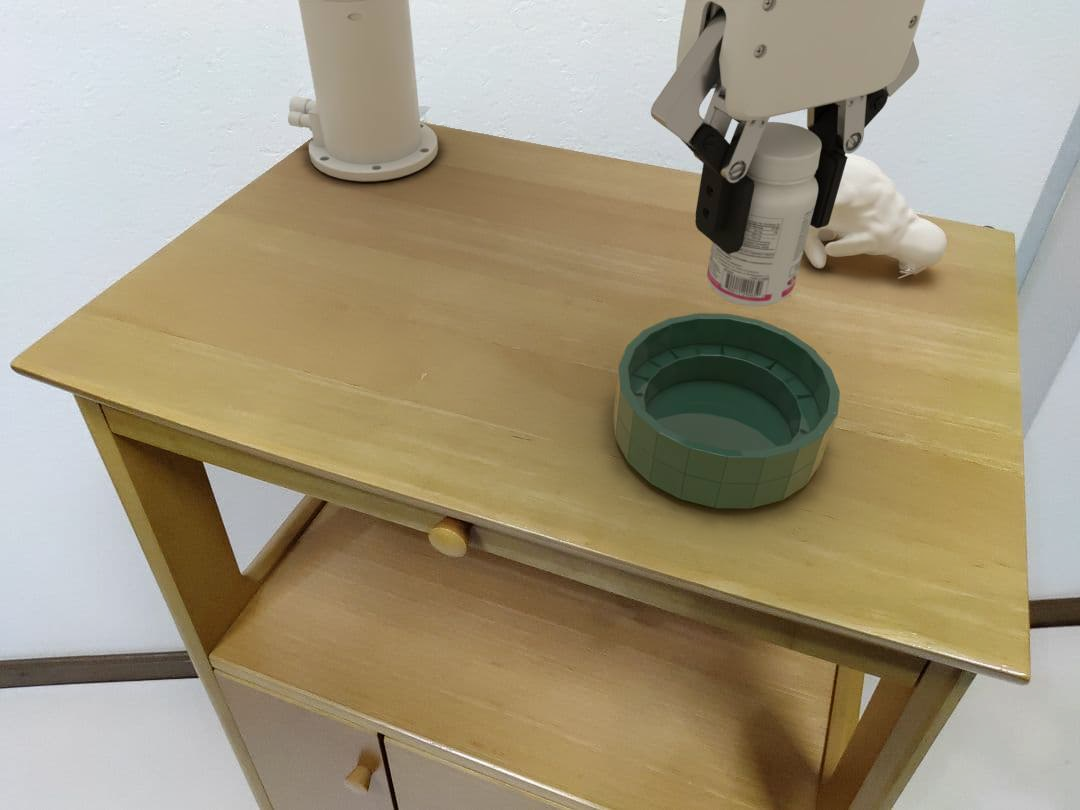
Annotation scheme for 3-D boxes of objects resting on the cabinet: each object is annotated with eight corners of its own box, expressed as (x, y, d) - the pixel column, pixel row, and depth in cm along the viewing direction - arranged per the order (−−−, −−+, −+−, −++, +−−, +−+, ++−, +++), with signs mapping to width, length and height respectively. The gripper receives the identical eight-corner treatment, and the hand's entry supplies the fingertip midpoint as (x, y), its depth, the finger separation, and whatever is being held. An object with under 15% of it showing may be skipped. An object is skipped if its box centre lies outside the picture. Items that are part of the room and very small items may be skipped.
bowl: (589, 483, 50) (593, 425, 47) (639, 353, 60) (646, 297, 56) (809, 539, 47) (831, 481, 44) (826, 393, 57) (845, 336, 53)
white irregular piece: (825, 132, 66) (978, 176, 64) (792, 222, 72) (930, 266, 70) (809, 165, 62) (971, 214, 59) (775, 258, 68) (921, 306, 65)
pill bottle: (757, 252, 48) (789, 110, 42) (810, 296, 44) (853, 149, 39) (688, 271, 46) (711, 127, 40) (738, 318, 43) (770, 169, 37)
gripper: (946, -226, 36) (837, 164, 48) (606, -205, 30) (583, 230, 42) (1099, -203, 31) (934, 225, 43) (728, -173, 25) (661, 308, 38)
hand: (761, 224), depth 43 cm, fingers closed on pill bottle, 4 cm apart
